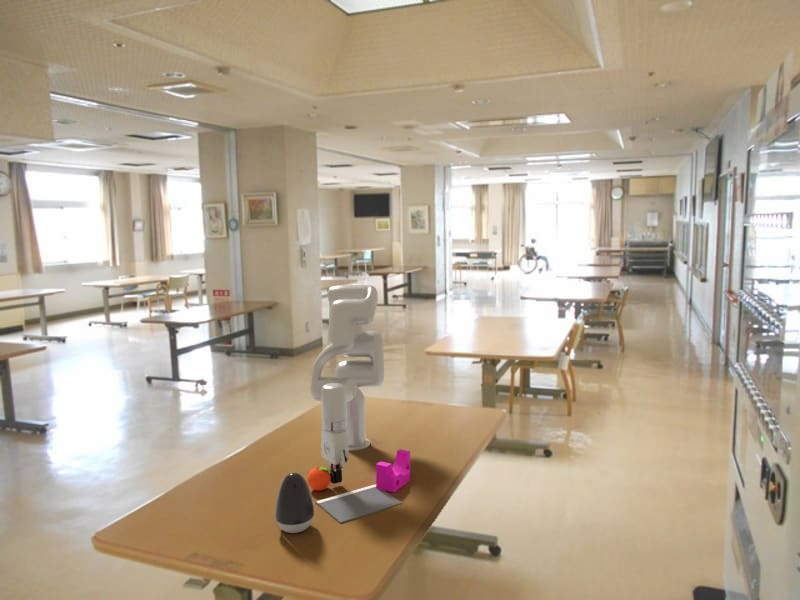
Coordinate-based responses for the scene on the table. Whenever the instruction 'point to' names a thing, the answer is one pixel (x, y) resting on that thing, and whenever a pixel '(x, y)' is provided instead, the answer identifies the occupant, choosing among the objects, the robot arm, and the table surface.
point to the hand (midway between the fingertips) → (336, 481)
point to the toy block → (393, 472)
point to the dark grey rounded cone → (294, 504)
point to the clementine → (319, 478)
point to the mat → (357, 503)
